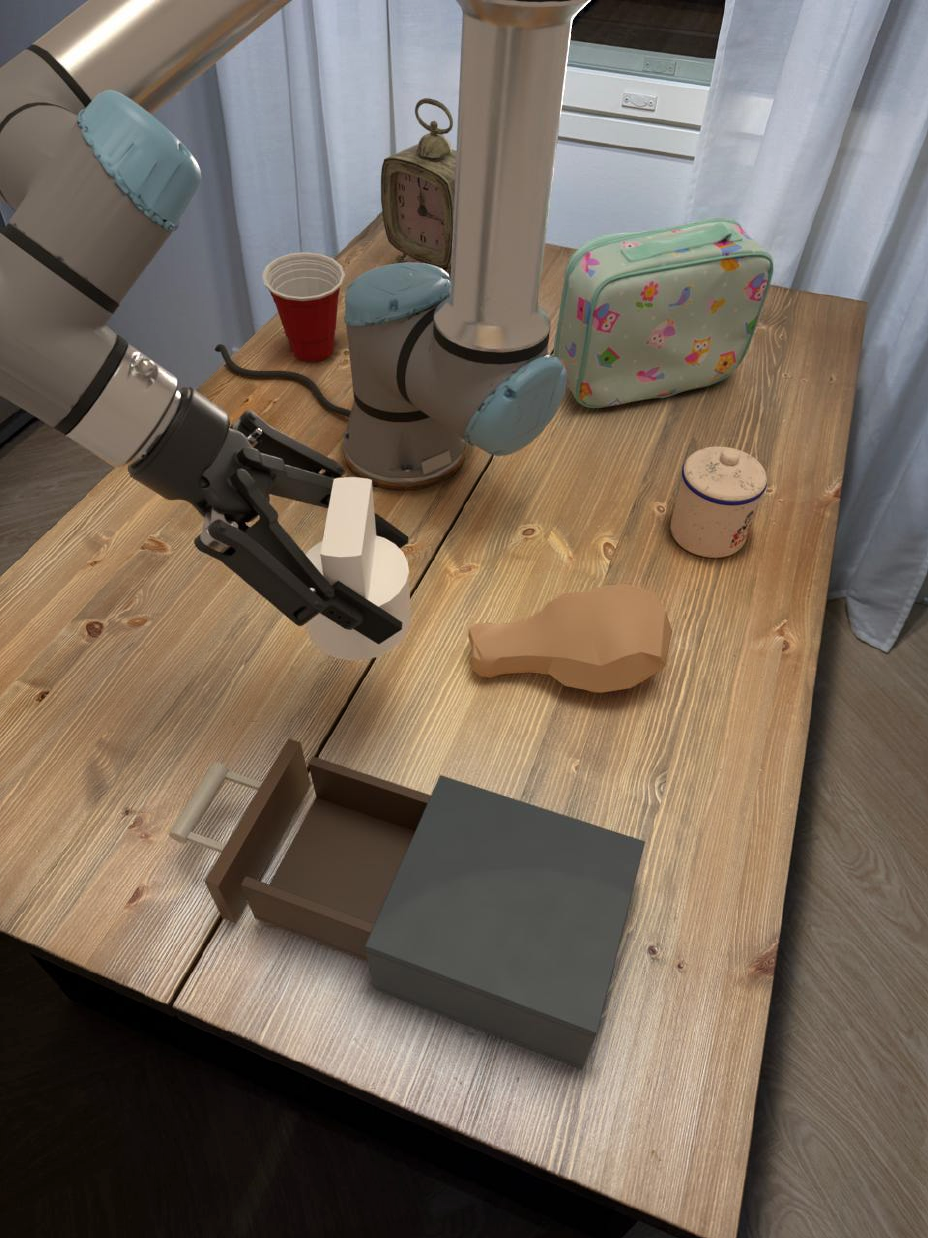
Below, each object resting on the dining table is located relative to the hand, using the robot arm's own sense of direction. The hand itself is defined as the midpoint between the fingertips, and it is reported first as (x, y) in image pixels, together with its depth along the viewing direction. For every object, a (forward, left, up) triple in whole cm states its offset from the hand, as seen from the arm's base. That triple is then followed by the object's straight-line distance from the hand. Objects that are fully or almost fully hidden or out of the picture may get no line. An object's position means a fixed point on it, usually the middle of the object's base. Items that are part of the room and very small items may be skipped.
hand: (394, 588), depth 73 cm
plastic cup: (-51, +37, -17) cm, 66 cm away
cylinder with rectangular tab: (-2, -2, -4) cm, 5 cm away
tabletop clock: (-53, +66, -17) cm, 87 cm away
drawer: (+6, -17, -16) cm, 24 cm away
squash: (+9, +14, -17) cm, 24 cm away
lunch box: (-11, +62, -17) cm, 66 cm away
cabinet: (+22, -11, -17) cm, 30 cm away
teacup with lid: (+10, +42, -17) cm, 47 cm away
